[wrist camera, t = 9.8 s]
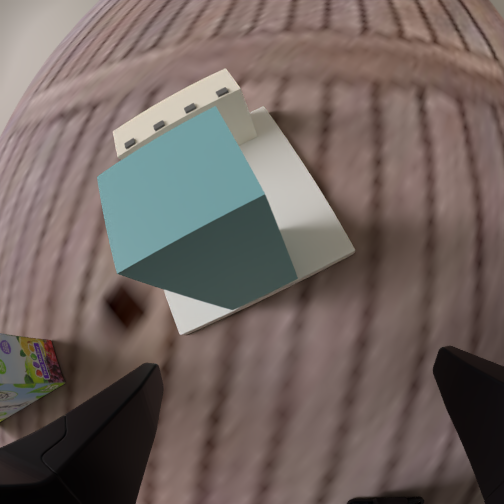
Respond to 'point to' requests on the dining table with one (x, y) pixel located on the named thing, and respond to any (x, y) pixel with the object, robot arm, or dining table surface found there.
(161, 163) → the tall teal pillar
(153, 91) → the dining table surface
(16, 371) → the snack box
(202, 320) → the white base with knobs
